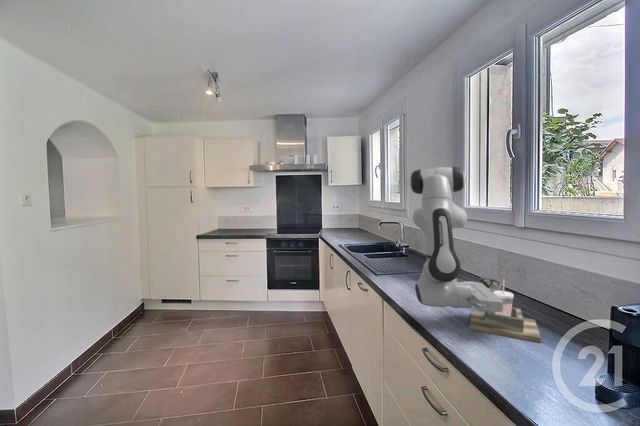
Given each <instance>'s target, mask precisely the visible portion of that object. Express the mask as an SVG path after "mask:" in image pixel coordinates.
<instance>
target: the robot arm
mask: <svg viewBox="0 0 640 426" xmlns="http://www.w3.org/2000/svg"><path fill="white" fill-rule="evenodd" d="M466 180H467V177H466V174H465V172H464V169H463V168H462V167H459V166H452V167H451V166H438V167H431V168H425V169H417V170H414V171H412V173H411V175H410V177H409V186H410V189H411V191H412V192H413V193H414V194H417V195H421V207H417V208H416V209H415V210H414V212H413V213H412V220H413V222H414V225H415V226H416V227H418V228H419V229H420V230H421V231H422V233H423V234H424V236H425V238H426V246H427V253H426V257H425V258H426V261H425V262H424V264H423V266H422V267H423V268H422V272H421V274H420V276H419V279H418V280H417V282H415V284H414V289H415V295H416V298H417V301H418V302H419V303H420V304H421V305H423V306H427V307H435V308H445V307H450V308H456V309H471V308H472V307H476V309H478V311H483V312H485V311H493V312H501V311H503V305H504V304H512V305H513V300H512V299H511V298H510V297H505V298H499V297H497V296H496V295H495V294H494V293H493V292H494V291H502V289H501V290H494V289H490V288H487V287H485V286H484V285H483V284H482V283H480V281H479V282H478V281H469V280H468V281H467V280H463V279H457V278H458V277H459V275H460V273H461V268H462V267H461V262H460V259H459V258H458V255H457V254H456V250H455V246H454V237H453V230H454V229H461V228H463V227H465V226H466V224H467V221H468V213H467V212H466V210H465V209H464V208H463V207H460V206H459V205H457V203H455V202H454V201H453V198H452V197H453V196H452V193H457V192H461V191H462V190H463V189H464V187H465V185H466Z"/></svg>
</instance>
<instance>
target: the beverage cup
mask: <svg viewBox="0 0 640 426" xmlns="http://www.w3.org/2000/svg"><path fill="white" fill-rule="evenodd" d="M505 281H506V279H505V278H502V290H501V291H494V292H493V293H494V294H495V295H496V296H497V297H499V298H505V297H510V298H511V299H512V301H513V299H514V297H515V296H514V294H513V292H510V291H505V284H506V283H505ZM512 307H513V303H512V304H504V305H503V311H501V312H495V314H497V315H503V316H510V317H511V310H512Z"/></svg>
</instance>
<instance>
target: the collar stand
mask: <svg viewBox="0 0 640 426" xmlns="http://www.w3.org/2000/svg"><path fill="white" fill-rule="evenodd" d="M469 330H470V331H476V332H481V333H487V334H492V335H497V336H502V337H503V336H504V337H507V338H513V339H517V340H518V339H520V340H523V341H524V340H525V341H531V342H534V343H540V344H541V343H542V337H541V334H540V331H539V327H538V325H537V322H536V320H535V319H532V318H526V317H524V316H523V312H522V310H521V308H519V307H513V306H512V310H511V317H510V316H503V315H497V314H495V312H493V311H483V310H474V309H471V313H470V321H469Z"/></svg>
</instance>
